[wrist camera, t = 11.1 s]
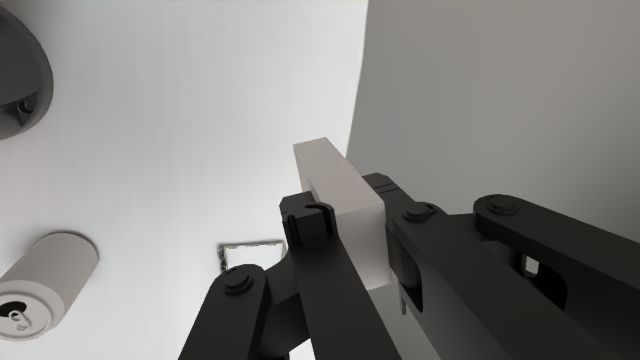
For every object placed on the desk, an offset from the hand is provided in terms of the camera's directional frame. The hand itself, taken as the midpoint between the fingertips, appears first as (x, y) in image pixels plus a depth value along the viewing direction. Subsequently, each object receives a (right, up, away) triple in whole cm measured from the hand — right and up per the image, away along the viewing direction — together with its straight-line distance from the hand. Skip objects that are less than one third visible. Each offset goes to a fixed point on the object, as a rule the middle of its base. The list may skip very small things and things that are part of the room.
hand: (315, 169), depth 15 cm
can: (-34, -10, +30) cm, 46 cm away
